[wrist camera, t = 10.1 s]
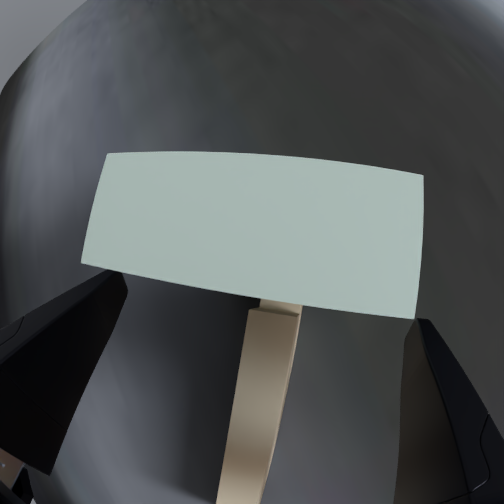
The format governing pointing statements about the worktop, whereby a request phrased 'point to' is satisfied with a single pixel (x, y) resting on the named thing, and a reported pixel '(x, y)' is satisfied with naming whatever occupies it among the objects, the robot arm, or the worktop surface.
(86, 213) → the worktop surface
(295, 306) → the beige long bar piece
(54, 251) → the worktop surface
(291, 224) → the sage block
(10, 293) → the worktop surface
